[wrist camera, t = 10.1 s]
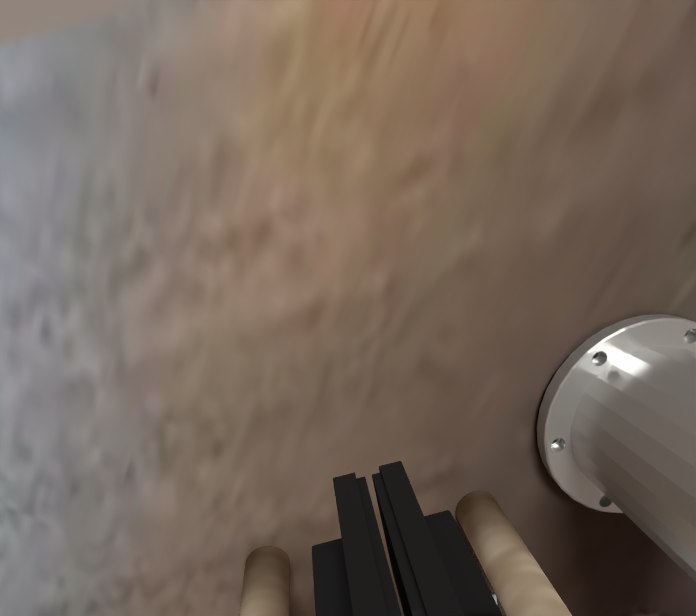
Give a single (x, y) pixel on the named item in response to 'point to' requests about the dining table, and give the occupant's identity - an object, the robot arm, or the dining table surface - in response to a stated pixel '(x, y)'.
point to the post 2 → (507, 559)
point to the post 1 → (266, 583)
